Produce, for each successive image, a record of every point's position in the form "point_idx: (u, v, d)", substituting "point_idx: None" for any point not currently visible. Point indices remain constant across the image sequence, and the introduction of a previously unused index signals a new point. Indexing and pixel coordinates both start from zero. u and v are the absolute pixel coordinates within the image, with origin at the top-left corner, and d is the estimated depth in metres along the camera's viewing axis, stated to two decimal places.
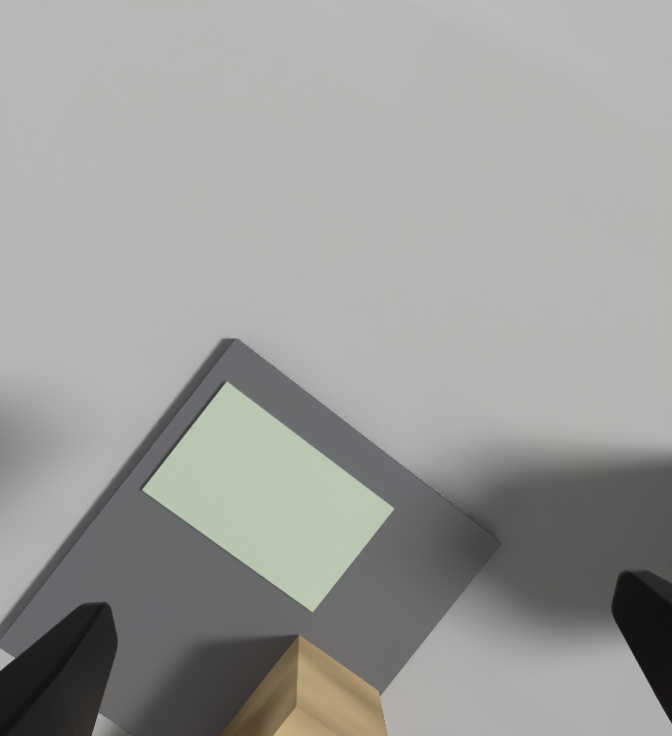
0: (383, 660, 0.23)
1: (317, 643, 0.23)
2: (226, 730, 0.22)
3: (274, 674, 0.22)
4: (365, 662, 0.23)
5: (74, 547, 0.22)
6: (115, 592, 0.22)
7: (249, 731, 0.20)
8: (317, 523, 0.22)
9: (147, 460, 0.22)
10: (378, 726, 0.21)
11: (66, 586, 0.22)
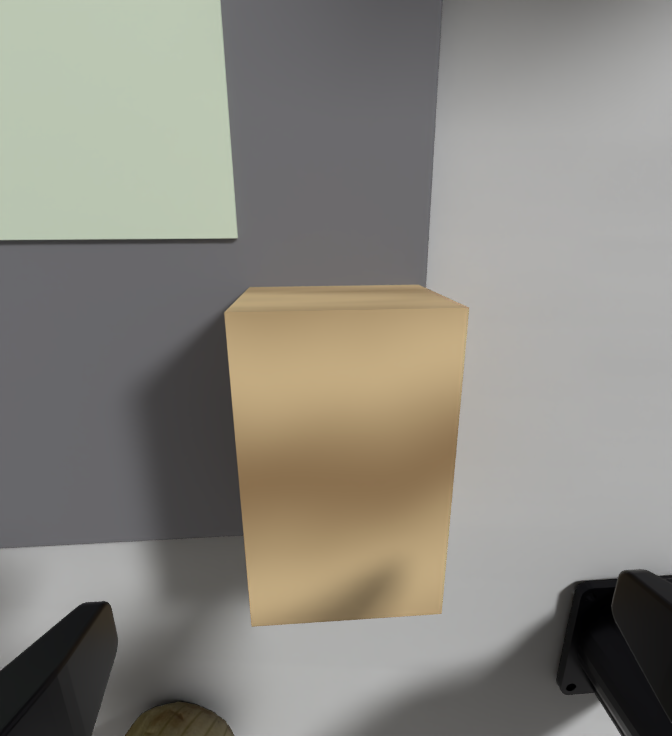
0: (394, 236, 0.13)
1: (284, 280, 0.14)
2: None
3: None
4: (370, 258, 0.14)
5: None
6: None
7: None
8: (122, 86, 0.12)
9: None
10: (423, 295, 0.12)
11: None
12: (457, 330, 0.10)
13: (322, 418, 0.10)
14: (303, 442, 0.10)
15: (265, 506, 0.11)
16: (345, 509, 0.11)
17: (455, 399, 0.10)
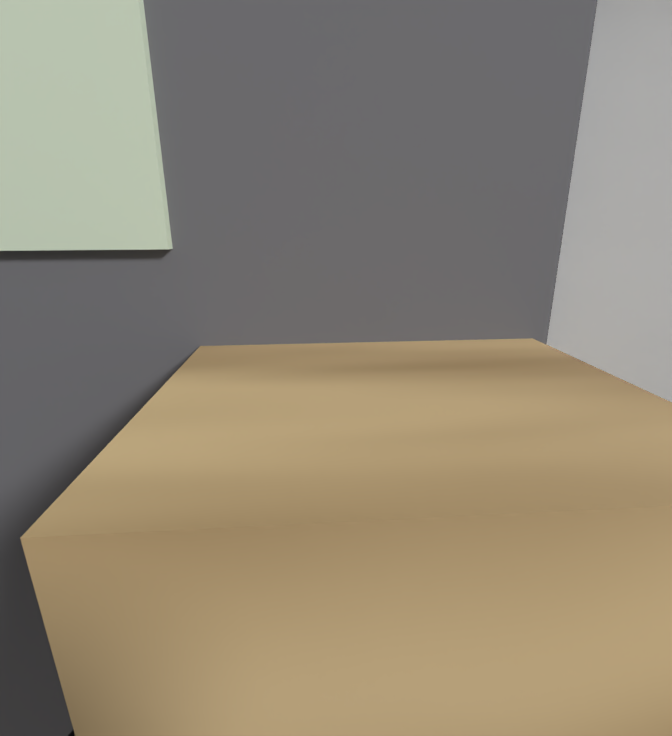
0: (492, 245, 0.07)
1: (270, 333, 0.07)
2: None
3: None
4: (442, 288, 0.07)
5: None
6: None
7: None
8: None
9: None
10: (600, 390, 0.05)
11: None
12: None
13: None
14: None
15: None
16: None
17: None
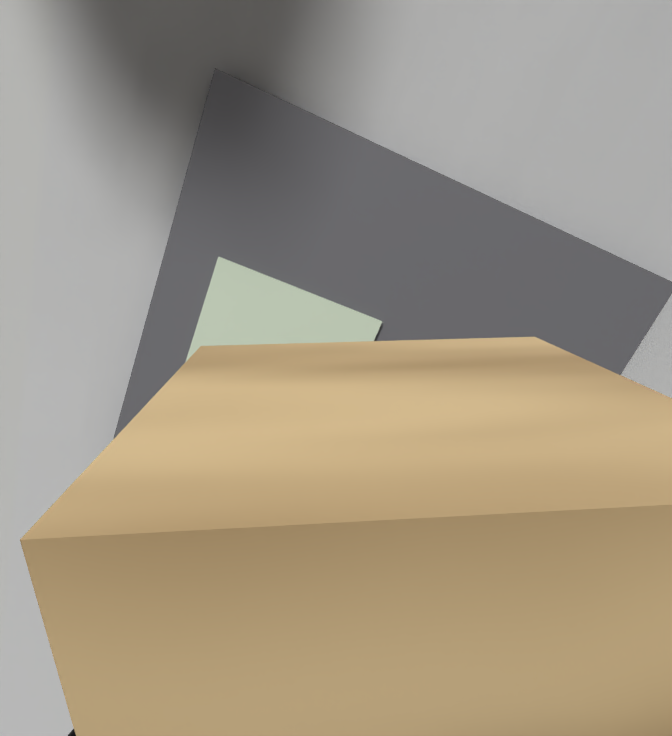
0: (432, 205, 0.16)
1: (423, 301, 0.18)
2: None
3: None
4: (439, 230, 0.17)
5: None
6: None
7: None
8: None
9: None
10: (604, 388, 0.05)
11: None
12: None
13: None
14: None
15: None
16: None
17: None
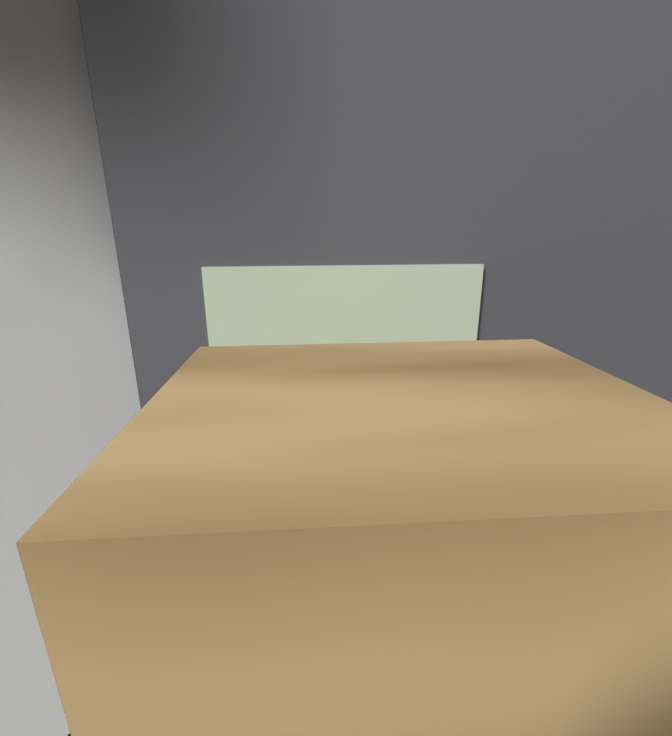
0: (501, 37, 0.09)
1: (537, 206, 0.11)
2: None
3: None
4: (526, 76, 0.10)
5: None
6: None
7: None
8: None
9: None
10: (603, 392, 0.05)
11: None
12: None
13: None
14: None
15: None
16: None
17: None
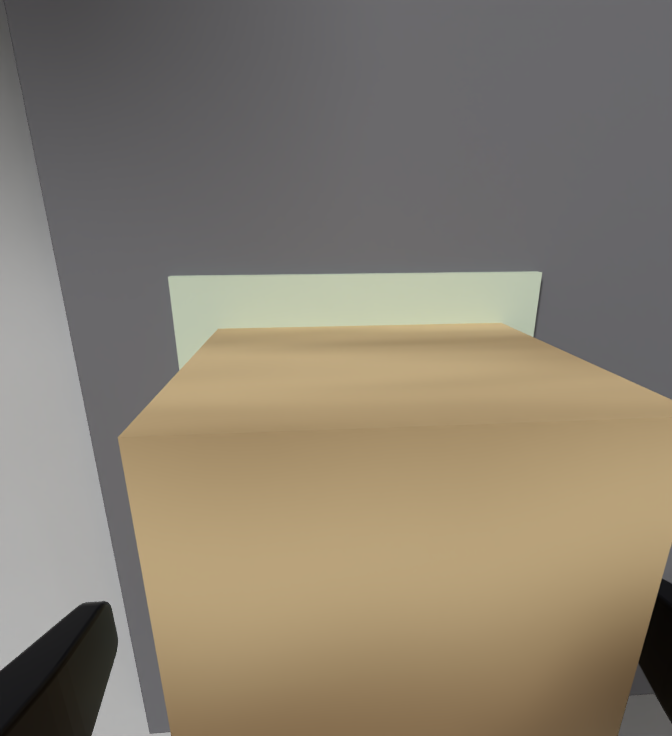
0: None
1: (614, 195, 0.08)
2: None
3: None
4: (608, 17, 0.07)
5: (632, 693, 0.12)
6: None
7: None
8: None
9: None
10: (542, 358, 0.06)
11: None
12: (671, 464, 0.04)
13: (355, 645, 0.05)
14: (313, 689, 0.05)
15: None
16: None
17: (643, 600, 0.05)
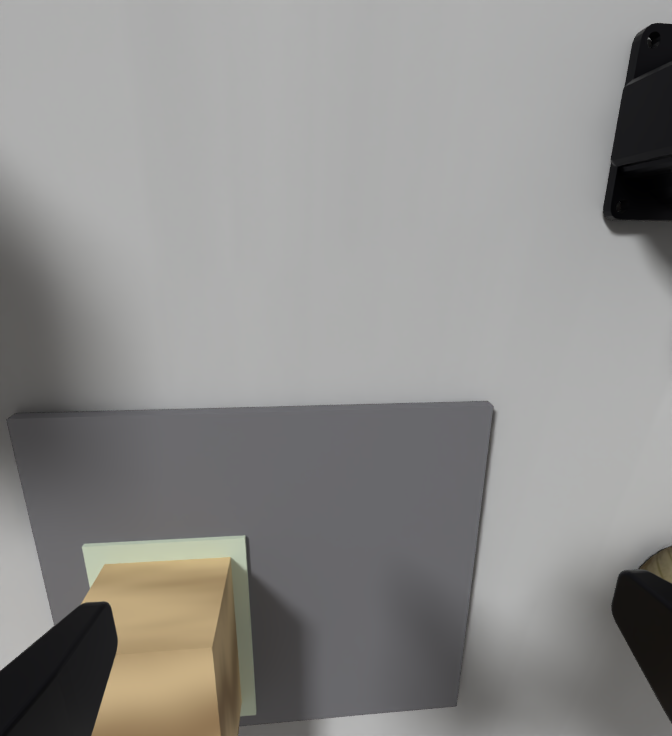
0: (239, 437, 0.18)
1: (273, 507, 0.19)
2: None
3: None
4: (255, 452, 0.18)
5: (341, 716, 0.23)
6: (355, 672, 0.22)
7: None
8: None
9: None
10: (208, 601, 0.17)
11: (376, 700, 0.23)
12: (206, 659, 0.15)
13: (122, 709, 0.15)
14: (111, 723, 0.16)
15: None
16: None
17: (212, 694, 0.16)
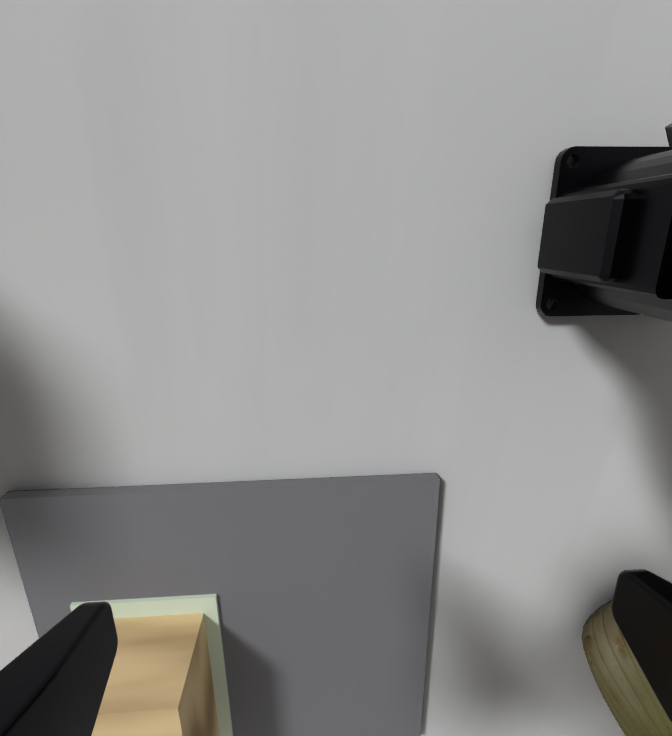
0: (206, 510, 0.20)
1: (240, 570, 0.21)
2: None
3: None
4: (222, 523, 0.20)
5: None
6: (324, 710, 0.24)
7: None
8: None
9: None
10: (179, 660, 0.19)
11: (344, 735, 0.25)
12: (173, 717, 0.17)
13: None
14: None
15: None
16: None
17: None
